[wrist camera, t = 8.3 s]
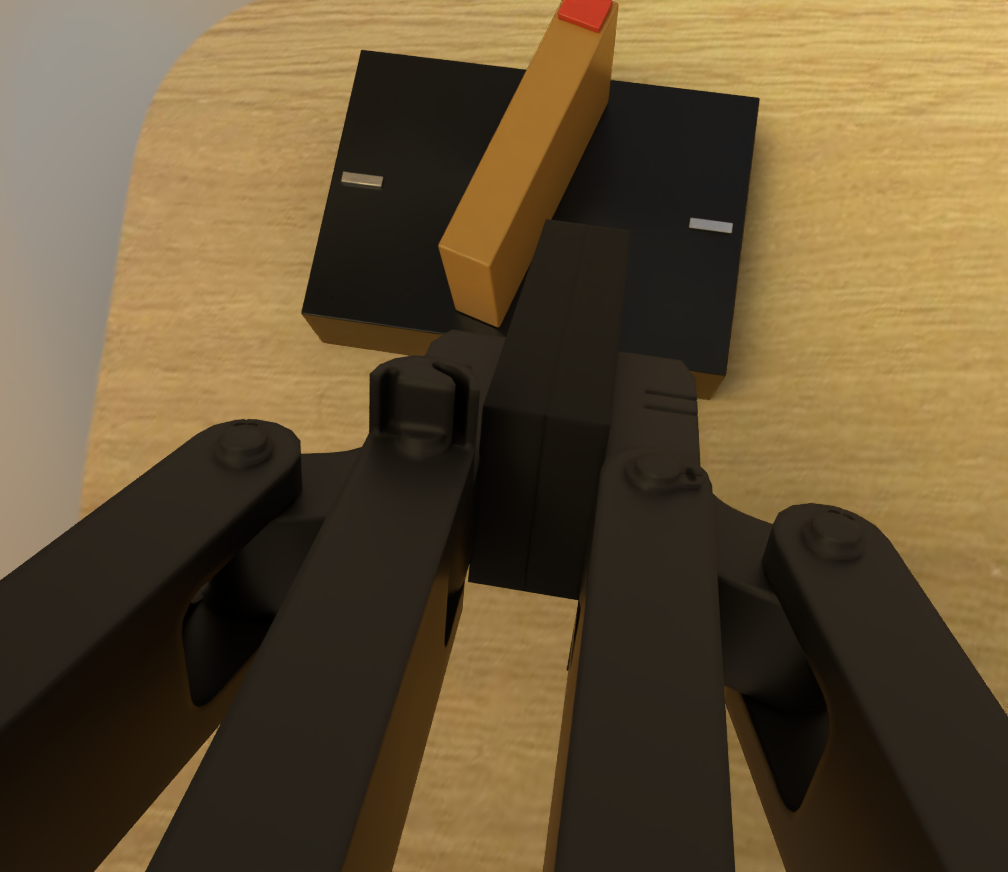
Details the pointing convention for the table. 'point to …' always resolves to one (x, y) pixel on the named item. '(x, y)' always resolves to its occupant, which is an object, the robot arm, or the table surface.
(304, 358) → the table surface
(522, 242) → the rectangular block
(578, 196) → the knob panel
